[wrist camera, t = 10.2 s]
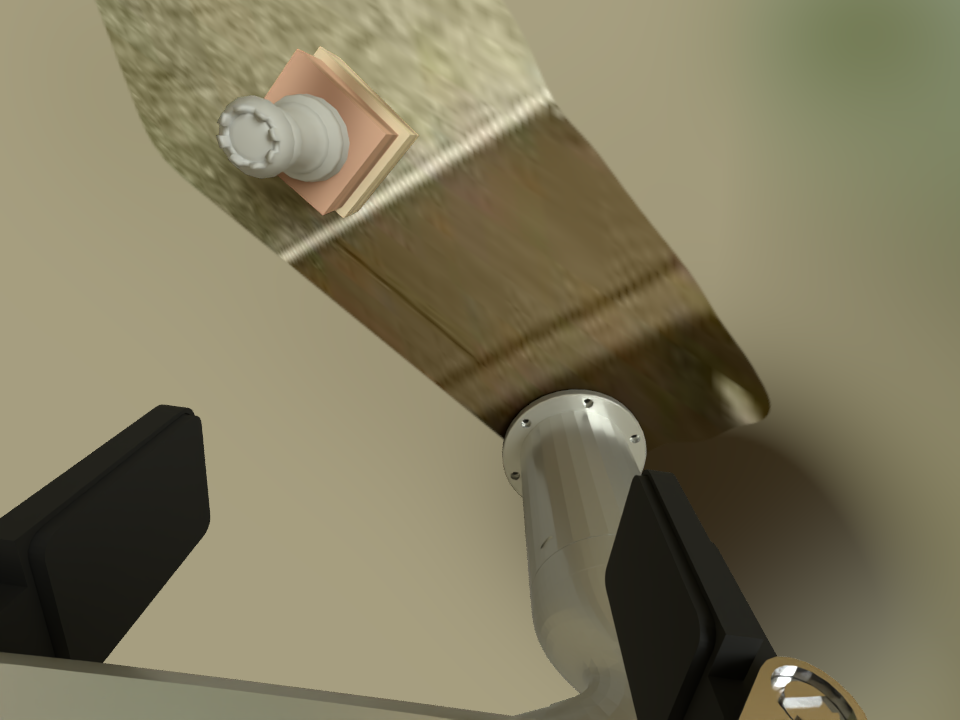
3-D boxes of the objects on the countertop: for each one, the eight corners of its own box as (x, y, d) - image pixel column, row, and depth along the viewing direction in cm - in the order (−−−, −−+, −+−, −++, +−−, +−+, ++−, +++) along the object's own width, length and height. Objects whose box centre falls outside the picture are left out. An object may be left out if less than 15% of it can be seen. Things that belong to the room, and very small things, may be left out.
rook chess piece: (275, 178, 29) (200, 190, 21) (268, 90, 27) (184, 71, 20) (352, 185, 29) (303, 199, 21) (351, 98, 27) (297, 81, 20)
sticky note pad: (419, 135, 35) (398, 133, 28) (358, 210, 37) (324, 227, 30) (339, 57, 33) (294, 32, 26) (280, 140, 35) (224, 140, 28)
